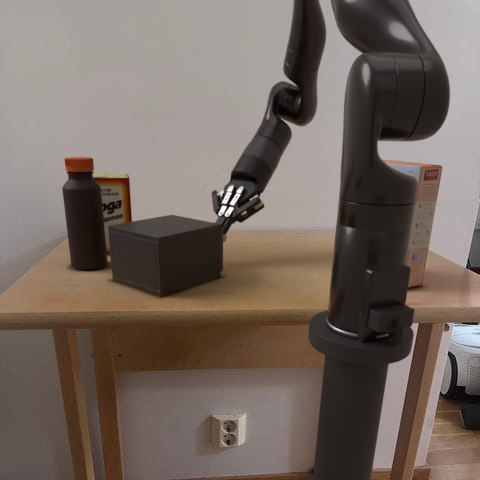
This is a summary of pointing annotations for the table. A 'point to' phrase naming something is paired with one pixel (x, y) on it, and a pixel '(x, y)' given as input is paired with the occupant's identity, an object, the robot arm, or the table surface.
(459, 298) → the table surface
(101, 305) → the table surface
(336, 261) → the robot arm
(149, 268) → the cabinet
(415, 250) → the cracker box
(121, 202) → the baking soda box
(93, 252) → the bottle
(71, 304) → the table surface
